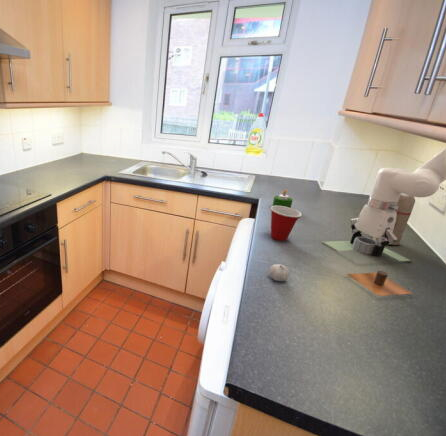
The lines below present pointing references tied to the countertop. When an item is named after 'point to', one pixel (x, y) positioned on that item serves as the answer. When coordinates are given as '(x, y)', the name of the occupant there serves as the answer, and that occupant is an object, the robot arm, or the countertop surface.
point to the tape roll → (364, 245)
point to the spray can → (402, 216)
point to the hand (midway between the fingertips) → (364, 249)
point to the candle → (282, 200)
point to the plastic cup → (282, 221)
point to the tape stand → (379, 283)
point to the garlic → (279, 272)
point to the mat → (348, 246)
